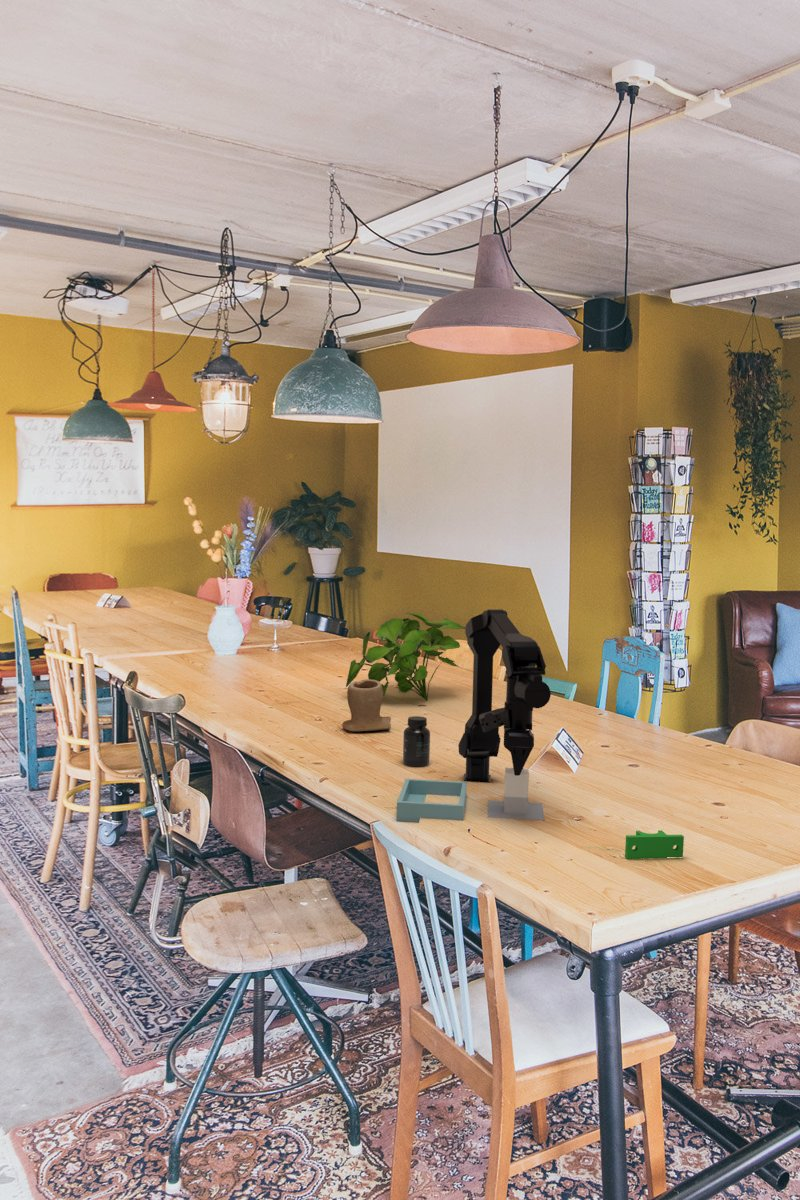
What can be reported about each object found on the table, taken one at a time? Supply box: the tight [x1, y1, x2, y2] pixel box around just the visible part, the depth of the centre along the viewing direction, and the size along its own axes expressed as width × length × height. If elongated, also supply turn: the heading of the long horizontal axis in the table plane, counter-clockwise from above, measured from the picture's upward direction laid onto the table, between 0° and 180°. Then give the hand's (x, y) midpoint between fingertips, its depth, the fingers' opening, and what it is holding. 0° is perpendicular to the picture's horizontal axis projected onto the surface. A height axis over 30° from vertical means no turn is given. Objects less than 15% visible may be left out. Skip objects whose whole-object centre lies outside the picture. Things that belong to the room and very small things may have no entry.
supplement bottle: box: [402, 715, 431, 768], centre depth 252 cm, size 7×7×12 cm
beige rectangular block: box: [503, 767, 530, 814], centre depth 212 cm, size 5×5×9 cm
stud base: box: [486, 799, 545, 821], centre depth 213 cm, size 12×12×4 cm
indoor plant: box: [345, 612, 466, 701], centre depth 335 cm, size 44×42×30 cm
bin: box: [395, 778, 468, 823], centre depth 215 cm, size 18×14×4 cm
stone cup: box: [341, 678, 392, 732], centre depth 287 cm, size 15×12×15 cm
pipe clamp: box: [624, 830, 685, 860], centre depth 190 cm, size 11×4×5 cm, turn 97°
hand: (516, 769), depth 212 cm, fingers open, 9 cm apart
